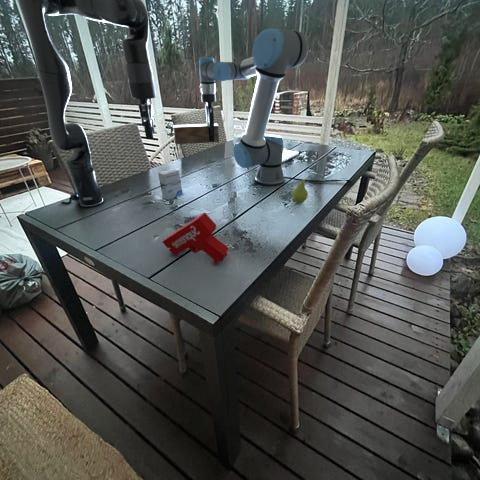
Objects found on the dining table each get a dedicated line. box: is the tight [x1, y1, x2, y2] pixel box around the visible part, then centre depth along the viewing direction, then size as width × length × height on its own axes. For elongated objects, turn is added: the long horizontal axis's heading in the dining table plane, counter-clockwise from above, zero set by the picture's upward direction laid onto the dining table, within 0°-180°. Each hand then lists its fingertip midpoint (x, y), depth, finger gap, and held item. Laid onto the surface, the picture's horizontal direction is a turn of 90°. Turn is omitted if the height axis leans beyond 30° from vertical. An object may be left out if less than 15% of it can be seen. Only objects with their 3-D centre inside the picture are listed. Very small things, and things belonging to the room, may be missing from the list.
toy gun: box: [162, 212, 230, 264], centre depth 85 cm, size 18×4×15 cm
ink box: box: [157, 168, 184, 200], centre depth 125 cm, size 8×5×12 cm, turn 135°
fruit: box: [291, 174, 311, 204], centre depth 118 cm, size 7×8×12 cm
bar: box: [172, 123, 220, 145], centre depth 149 cm, size 24×6×9 cm, turn 103°
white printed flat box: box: [282, 146, 300, 164], centre depth 184 cm, size 27×35×5 cm
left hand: (150, 136), depth 92 cm, fingers open, 8 cm apart
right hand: (211, 139), depth 152 cm, fingers closed on bar, 6 cm apart
